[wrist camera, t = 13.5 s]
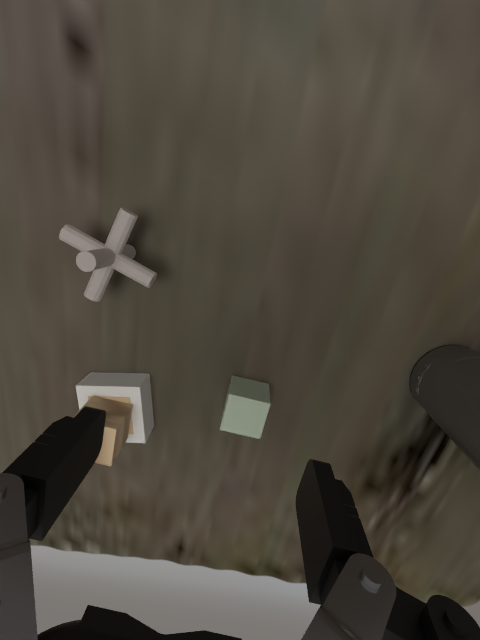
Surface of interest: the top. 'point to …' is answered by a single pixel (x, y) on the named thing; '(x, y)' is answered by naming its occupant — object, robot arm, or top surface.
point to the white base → (123, 398)
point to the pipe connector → (108, 255)
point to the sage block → (246, 407)
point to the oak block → (112, 427)
